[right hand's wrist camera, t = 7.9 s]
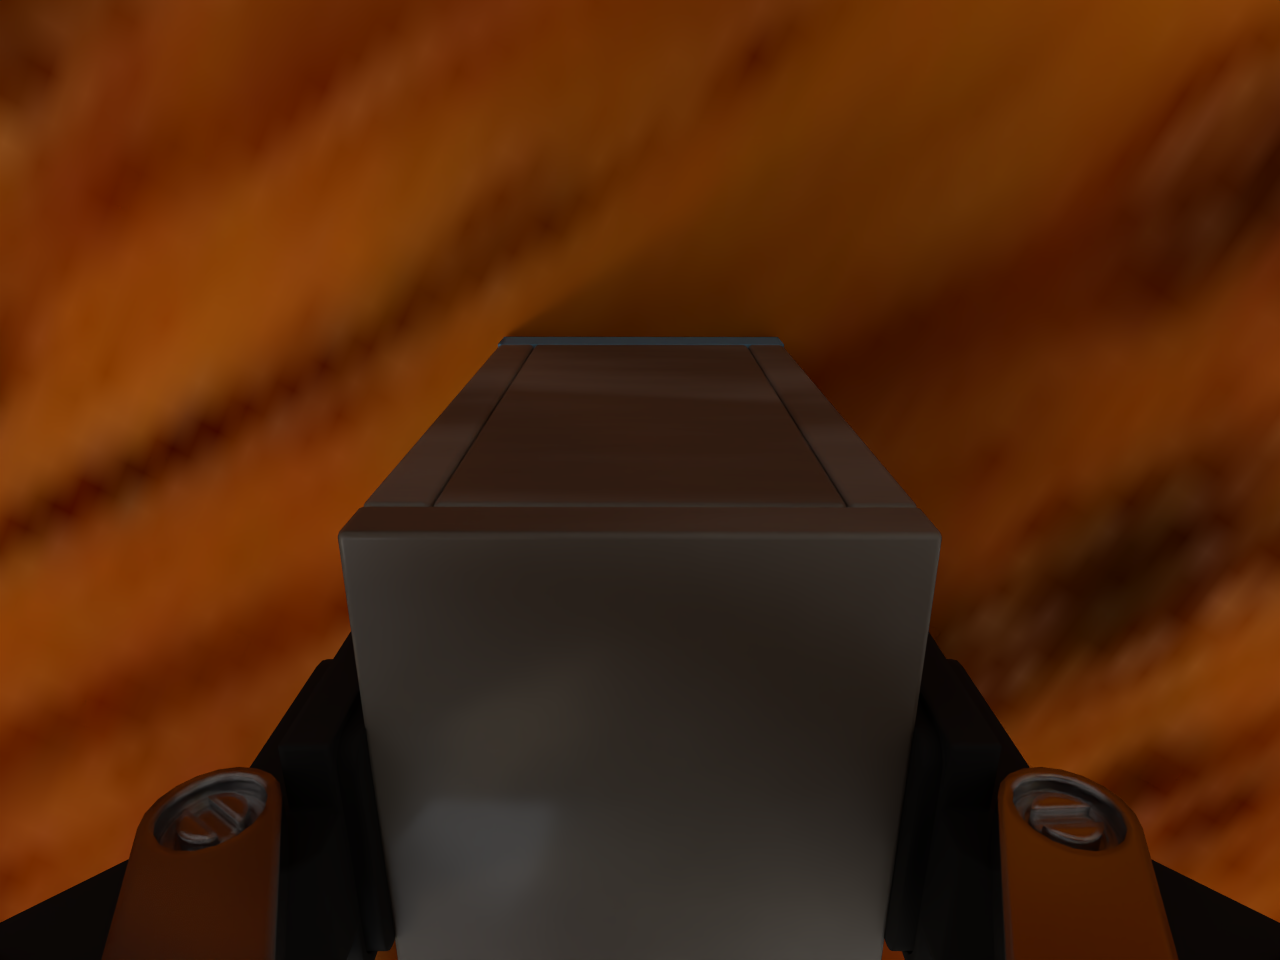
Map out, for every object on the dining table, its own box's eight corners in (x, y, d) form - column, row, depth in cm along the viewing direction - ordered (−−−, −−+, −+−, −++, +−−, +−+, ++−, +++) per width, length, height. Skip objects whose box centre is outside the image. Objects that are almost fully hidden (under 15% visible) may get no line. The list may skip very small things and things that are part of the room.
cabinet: (744, 894, 22) (818, 1412, 13) (536, 893, 22) (460, 1411, 13) (777, 336, 17) (945, 533, 8) (504, 336, 17) (333, 532, 8)
